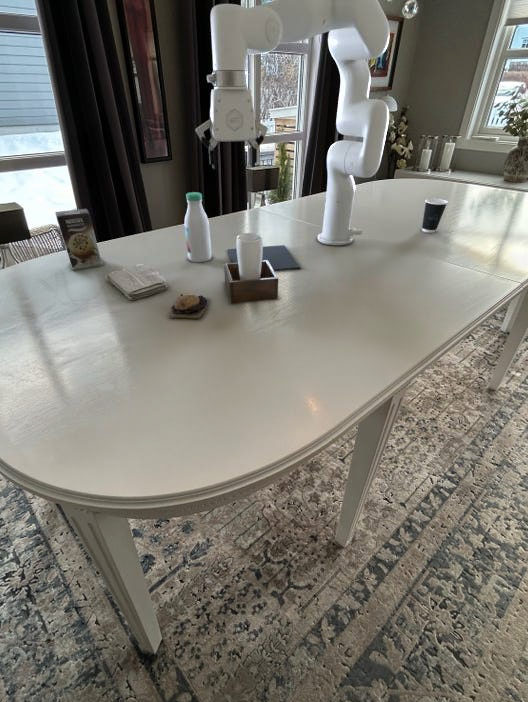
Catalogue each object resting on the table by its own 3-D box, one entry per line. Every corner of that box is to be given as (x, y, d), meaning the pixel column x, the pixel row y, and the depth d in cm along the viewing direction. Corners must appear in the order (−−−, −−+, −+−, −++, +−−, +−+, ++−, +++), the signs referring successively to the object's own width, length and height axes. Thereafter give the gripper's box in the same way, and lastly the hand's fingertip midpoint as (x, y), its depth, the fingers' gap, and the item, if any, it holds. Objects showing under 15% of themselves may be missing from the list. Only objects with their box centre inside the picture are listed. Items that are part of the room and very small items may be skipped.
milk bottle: (215, 255, 123) (211, 191, 111) (205, 264, 117) (199, 197, 106) (194, 253, 125) (188, 189, 113) (184, 261, 120) (175, 195, 108)
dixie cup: (428, 235, 140) (436, 204, 133) (413, 229, 145) (420, 199, 139) (444, 232, 142) (453, 202, 135) (428, 226, 148) (436, 197, 141)
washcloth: (131, 302, 97) (129, 292, 95) (105, 280, 108) (102, 270, 106) (171, 290, 103) (170, 279, 101) (143, 270, 114) (141, 260, 112)
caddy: (267, 279, 108) (267, 260, 104) (277, 299, 98) (278, 278, 94) (224, 283, 106) (223, 263, 102) (231, 303, 96) (229, 282, 92)
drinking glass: (259, 297, 99) (260, 242, 90) (235, 295, 100) (233, 240, 91) (264, 286, 104) (265, 233, 95) (241, 284, 105) (239, 231, 96)
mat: (284, 246, 130) (284, 245, 130) (300, 268, 114) (300, 267, 114) (228, 250, 127) (227, 249, 126) (236, 274, 111) (236, 272, 111)
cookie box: (72, 270, 114) (55, 216, 104) (70, 263, 118) (53, 211, 108) (103, 265, 117) (89, 212, 107) (100, 258, 121) (86, 207, 112)
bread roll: (201, 320, 89) (200, 307, 87) (167, 318, 90) (165, 305, 88) (210, 299, 98) (209, 287, 96) (179, 298, 99) (177, 285, 96)
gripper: (194, 81, 77) (201, 171, 87) (272, 81, 81) (270, 168, 91) (189, 81, 83) (196, 166, 93) (263, 82, 87) (262, 163, 97)
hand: (233, 167), depth 92 cm, fingers open, 9 cm apart
